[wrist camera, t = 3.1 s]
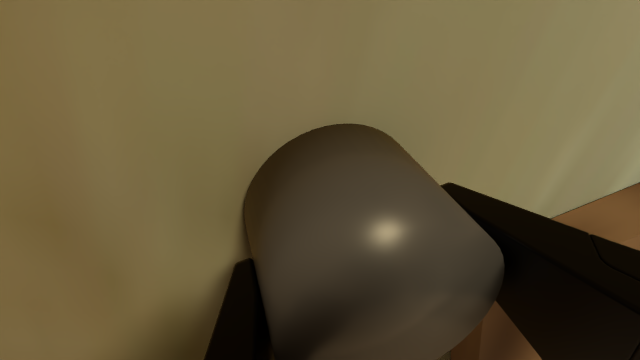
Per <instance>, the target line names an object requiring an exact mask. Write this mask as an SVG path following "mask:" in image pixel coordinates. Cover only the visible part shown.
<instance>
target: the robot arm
mask: <svg viewBox="0 0 640 360" xmlns="http://www.w3.org/2000/svg"><path fill="white" fill-rule="evenodd" d="M440 186H441V187H442V188H443V189H444V190H445V191H446V192H447V193H448V194H449V195H450V196H451V197H452V198H453V199H454V200H455V201H456V202H457V203H458V204H459V205H460V206H461V207H462V208H463V209H464V210H465V211H466V212H467V214H468V215H469V216H470V217H471V218H472V219H473V220H474V221H475V222H476V223H477V224H478V225H479V226H480V227H481V228H482V229H483V230H484V231H485V232H486V233H487V234H488V235H489V236H490V237H491V238H492V239H493V240H494V241H495V242H496V244H497V245H498V246H499V248H500V250H501V252H502V255H503V259H504V265H505V267H504V278H503V282H502V286H501V289H500V291H499V294H498V296H497V298H496V300H495V301H496V302H497V303H498V304H499V306H500V307H501V308H502V310H503V311H504V312H505V313H506V315H507V316H508V317H509V318H510V320H511V321H512V322H513V323H514V325H515V326H516V327H517V328H518V330H519V331H520V332H521V334H522V335H523V336H524V337H525V339H526V340H527V341H528V342H529V344H530V345H531V346H532V347H533V349H534V350H535V351H536V352H537V354H538V355H539V356H540V357H541V359H542V360H640V250H637V249H634V248H631V247H628V246H625V245H622V244H619V243H616V242H613V241H611V240H608V239H605V238H602V237H600V236H597V235H594V234H590V235H589V233H588V232H585V231H583V230H580V229H577V228H574V227H572V226H569V225H566V224H563V223H561V222H558V221H555V220H552V219H550V218H547V217H544V216H541V215H539V214H536V213H533V212H530V211H528V210H525V209H522V208H519V207H517V206H514V205H511V204H508V203H506V202H503V201H500V200H498V199H495V198H492V197H489V196H487V195H484V194H481V193H478V192H476V191H473V190H470V189H467V188H465V187H462V186H459V185H456V184H454V183H446V184H443V185H440ZM204 360H275V359H274V354H273V350H272V345H271V340H270V336H269V331H268V327H267V322H266V317H265V313H264V308H263V303H262V299H261V294H260V289H259V285H258V280H257V276H256V271H255V266H254V262H253V260H252V259H251V258H248V259H245V260H243V261H240V262H238V263H236V264H235V267H234V270H233V273H232V276H231V279H230V282H229V285H228V288H227V291H226V294H225V297H224V300H223V303H222V306H221V309H220V312H219V315H218V319H217V322H216V325H215V328H214V331H213V334H212V337H211V340H210V343H209V346H208V349H207V352H206V355H205V358H204Z"/></svg>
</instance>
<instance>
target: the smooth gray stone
mask: <svg viewBox="0 0 640 360" xmlns="http://www.w3.org/2000/svg"><path fill="white" fill-rule="evenodd" d="M244 220H245V225H246V230H247V235H248V239H249V244H250V248H251V253H252V258H253V262H254V266H255V271H256V276H257V280H258V285H259V289H260V294H261V299H262V303H263V308H264V313H265V317H266V322H267V327H268V331H269V336H270V340H271V345H272V350H273V354H274V359H275V360H437V359H439V358H440V357H442V356H443V355H444V354H446V353H447V352H449V351H450V350H451V349H453V348H454V347H455V346H456V345H457V344H459V343H460V342H461V341H462V340H463V339H464V338H465V337H467V336H468V335H469V334H470V333H471V332H472V331H473V330H474V329H475V327H476V326H477V325H478V324H479V323H480V322H481V321H482V319H483V318H484V317H485V316H486V314H487V313H488V311H489V310H490V308H491V307H492V305H493V304H494V302H495V300H496V298H497V296H498V294H499V291H500V289H501V286H502V282H503V278H504V267H505V265H504V259H503V255H502V252H501V250H500V248H499V246H498V245H497V244H496V242H495V241H494V240H493V239H492V238H491V237H490V236H489V235H488V234H487V233H486V232H485V231H484V230H483V229H482V228H481V227H480V226H479V225H478V224H477V223H476V222H475V221H474V220H473V219H472V218H471V217H470V216H469V215H468V214H467V212H466V211H465V210H464V209H463V208H462V207H461V206H460V205H459V204H458V203H457V202H456V201H455V200H454V199H453V198H452V197H451V196H450V195H449V194H448V193H447V192H446V191H445V190H444V189H443V188H442V187H441V186H440V185H439V184H438V183H437V182H436V181H435V180H434V179H433V178H432V177H431V176H430V175H429V174H428V173H427V172H426V171H425V170H424V169H423V168H422V167H421V166H420V165H419V164H418V163H417V162H416V161H415V160H414V159H413V158H412V157H411V156H410V155H409V154H408V153H407V152H406V151H405V150H404V149H403V148H402V147H401V146H400V144H399V143H398V142H396V141H395V140H394V139H393V138H392V137H391V136H389V135H387V134H386V133H384V132H382V131H380V130H378V129H375V128H373V127H369V126H365V125H359V124H336V125H330V126H324V127H321V128H317V129H314V130H311V131H309V132H306V133H304V134H302V135H300V136H298V137H296V138H294V139H292V140H291V141H289V142H288V143H286V144H285V145H283V146H282V147H281V148H279V149H278V150H277V151H276V152H275V153H274V154H272V155H271V156H270V157H269V158H268V159H267V161H266V162H265V163H264V164H263V165H262V166H261V168H260V169H259V171H258V172H257V174H256V175H255V177H254V178H253V180H252V183H251V185H250V187H249V189H248V192H247V196H246V199H245V206H244Z"/></svg>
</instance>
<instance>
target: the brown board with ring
mask: <svg viewBox="0 0 640 360" xmlns="http://www.w3.org/2000/svg"><path fill="white" fill-rule="evenodd" d="M552 220H555V221H558V222H561V223H563V224H566V225H569V226H572V227H574V228H577V229H580V230H583V231H585V232H588V233H589V235H590V234H594V235H597V236H600V237H602V238H605V239H608V240H611V241H613V242H616V243H619V244H622V245H625V246H628V247H631V248H634V249H637V250H640V183H638V184H636V185H633V186H631V187H628V188H626V189H623V190H621V191H618V192H616V193H613V194H611V195H609V196H606V197H604V198H601V199H599V200H596V201H594V202H591V203H589V204H586V205H584V206H581V207H579V208H577V209H574V210H572V211H569V212H567V213H564V214H562V215H559V216H557V217H554V218H552ZM451 360H542V359H541V357H540V356H539V355H538V354H537V352H536V351H535V350H534V349H533V347H532V346H531V345H530V344H529V342H528V341H527V340H526V339H525V337H524V336H523V335H522V334H521V332H520V331H519V330H518V328H517V327H516V326H515V325H514V323H513V322H512V321H511V320H510V318H509V317H508V316H507V315H506V313H505V312H504V311H503V310H502V308H501V307H500V306H499V304H498V303H497V302H496V301H495V302H494V304H493V305H492V307H491V308H490V310H489V311H488V313H487V314H486V316H485V317H484V318H483V319H482V321H481V322H480V323H479V324H478V325H477V326H476V327H475V329H474V330H473V331H472V332H471V333H470V334H469V335H468V336H467V337H465V338H464V339H463V340H462V341H461V342H460V343H459V344H457V345H456V346H455V347H454V348H453V349H451Z"/></svg>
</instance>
